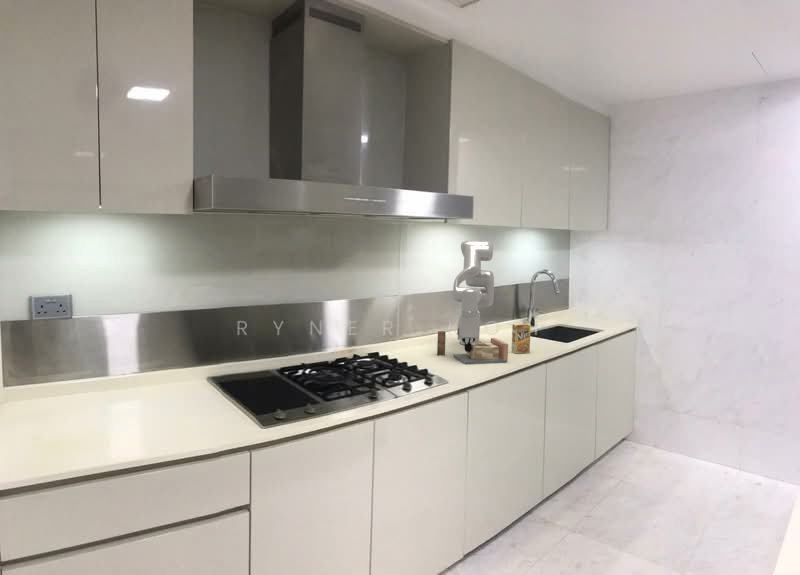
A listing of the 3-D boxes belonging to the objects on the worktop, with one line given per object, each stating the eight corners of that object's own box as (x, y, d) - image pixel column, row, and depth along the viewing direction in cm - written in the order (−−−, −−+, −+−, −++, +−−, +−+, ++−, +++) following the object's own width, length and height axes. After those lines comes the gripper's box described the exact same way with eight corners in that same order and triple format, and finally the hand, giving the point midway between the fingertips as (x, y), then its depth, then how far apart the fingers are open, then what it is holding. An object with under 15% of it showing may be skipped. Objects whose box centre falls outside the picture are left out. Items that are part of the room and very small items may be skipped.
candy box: (515, 353, 265) (516, 325, 264) (511, 352, 269) (512, 323, 268) (529, 353, 268) (531, 324, 266) (525, 351, 272) (526, 323, 270)
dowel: (436, 354, 261) (436, 331, 260) (443, 353, 262) (444, 331, 260) (438, 355, 257) (439, 332, 256) (446, 355, 258) (446, 332, 257)
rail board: (453, 356, 255) (454, 338, 255) (493, 355, 261) (494, 337, 260) (464, 364, 240) (465, 345, 239) (507, 362, 245) (508, 343, 244)
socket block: (466, 354, 255) (467, 343, 254) (488, 354, 258) (489, 342, 257) (475, 360, 243) (475, 348, 243) (498, 359, 246) (499, 347, 245)
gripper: (480, 313, 251) (479, 349, 253) (451, 313, 248) (450, 350, 249) (486, 315, 244) (485, 352, 245) (457, 315, 240) (455, 353, 242)
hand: (467, 351), depth 247 cm, fingers closed
